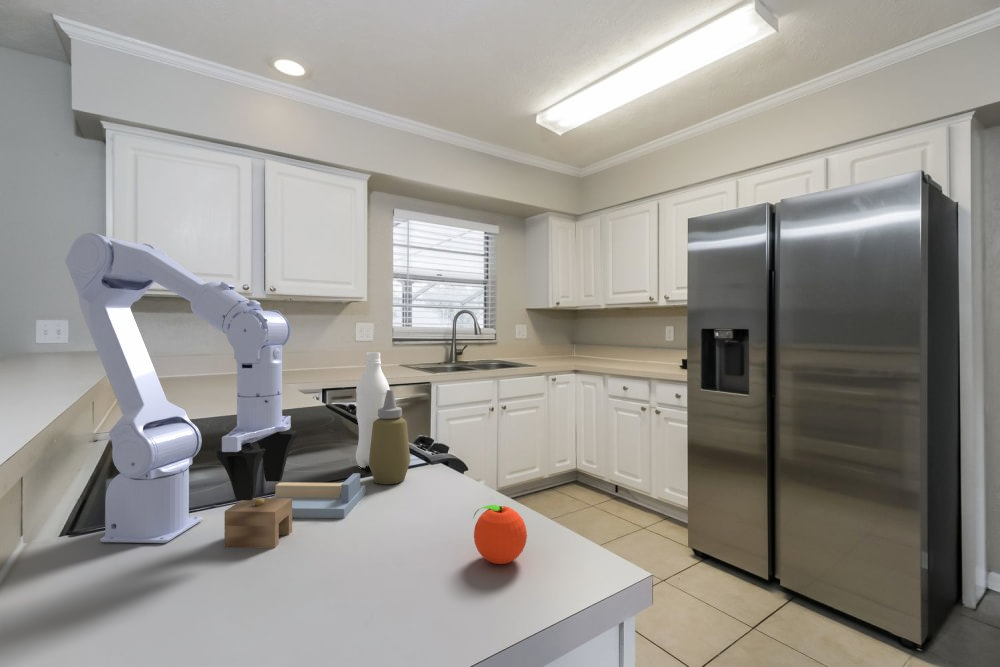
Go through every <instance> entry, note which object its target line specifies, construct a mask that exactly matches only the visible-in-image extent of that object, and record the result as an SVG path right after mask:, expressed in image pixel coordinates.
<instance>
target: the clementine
mask: <svg viewBox="0 0 1000 667" xmlns="http://www.w3.org/2000/svg"><path fill="white" fill-rule="evenodd" d="M481 509H482V510H483V509H486V510H485V511H484V512H482V514H481V515H480V516H479V517H478V519H477V520H476V522H475V524H474V531H473V539H474V545H475V548H476V550H477V551H478V553H479V554H480V555H481V557H482V558H483V559H485V560H486V561H488V562H490V563H492V564H495V565H496V564H497V565H506V564H508V563H511V562H513V561H514V560H516V559H518V557H519V556H520V555H521V554H522V553H523V552H524V549H525V546H526V543H527V539H528V534H527V526H526V524H525V522H524V520H523V517H522V516H521V515H520V514H519V513H518V511H516V510H514V509H513V508H511V507H509V506H505V505H496V504H488V505H485V506H482V507H480V508H478V509H476V511H475V512H474V514H473V518H472V519H474V518H475V516H476V514H477V513H478V512H479V511H480V510H481Z"/></svg>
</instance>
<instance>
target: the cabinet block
mask: <svg viewBox="0 0 1000 667" xmlns="http://www.w3.org/2000/svg"><path fill="white" fill-rule="evenodd" d="M292 533H293V518H292V498H271V497H269V498H268V497H254V499H252V500H239V501H238V502H237V503H235V504H233V505H232V506H230V507H229V508H227V509H225V510H224V548H243V549H244V548H250V549H253V548H257V549H259V548H260V549H261V548H262V549H266V548H267V549H276V548H277V547H278V546H279V542H280V537H279V536H290V535H291V534H292Z"/></svg>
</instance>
